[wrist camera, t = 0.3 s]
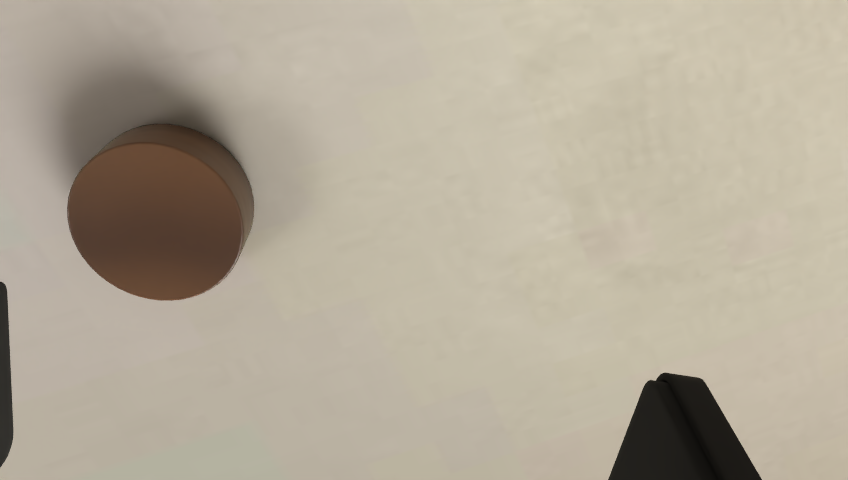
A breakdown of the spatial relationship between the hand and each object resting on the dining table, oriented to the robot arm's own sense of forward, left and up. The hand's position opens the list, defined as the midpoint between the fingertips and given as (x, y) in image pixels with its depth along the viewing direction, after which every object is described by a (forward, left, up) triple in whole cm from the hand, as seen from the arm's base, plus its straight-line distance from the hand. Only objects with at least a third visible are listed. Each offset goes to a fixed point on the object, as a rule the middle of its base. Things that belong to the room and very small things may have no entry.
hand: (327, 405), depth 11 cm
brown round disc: (+3, -6, -13) cm, 14 cm away
